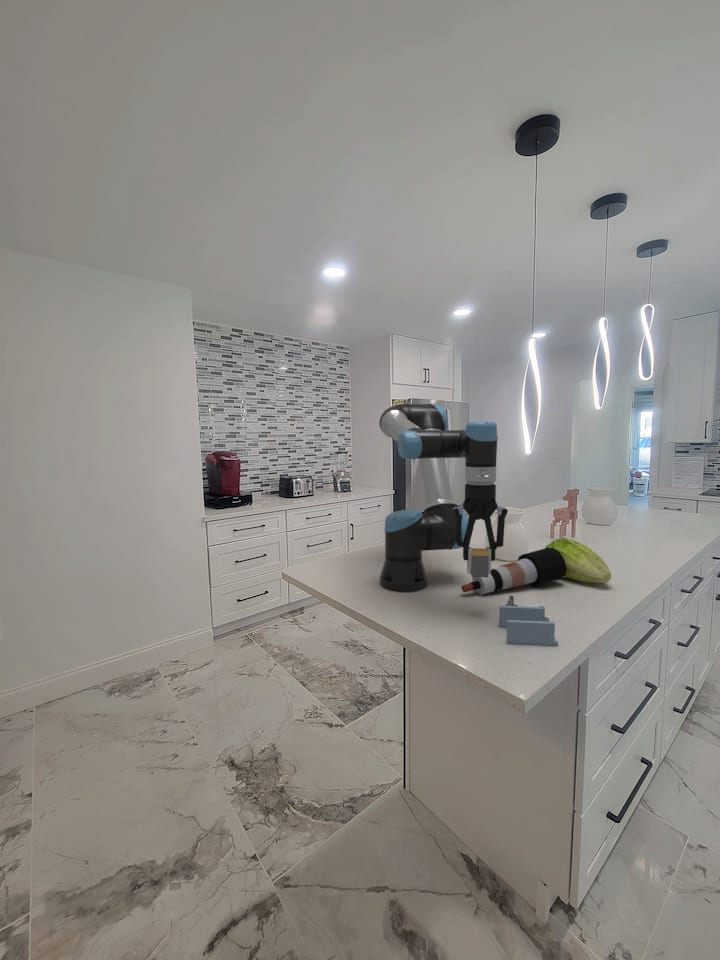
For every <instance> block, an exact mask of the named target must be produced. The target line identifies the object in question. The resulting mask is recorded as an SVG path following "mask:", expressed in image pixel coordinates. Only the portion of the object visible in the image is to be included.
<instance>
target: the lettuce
mask: <svg viewBox="0 0 720 960" xmlns="http://www.w3.org/2000/svg"><path fill="white" fill-rule="evenodd" d="M545 548H554V549H556V550H557V551H558V552H560V553H561V555H562V556H563V558H564V560H565V562H566V568H567V569H566V574H565V576H564V577H563V578H566V579H570V580H574V581H578V582H582V583H608V582H609V581H610V580H611V579H612V573H611V570H610V569H609V567H608V565H607V564H606V562H605V561H604V560H603V558H602V557H600V556H599V555H598V554H597V553H596V552H595V551H593V550H592V549H591V548H589V546H587V545H586V544H582V543H580V542H578V541H577V540H576V541H575V540H572V539H570V538H567V537H565V538H558V539H554V540H553V541H551V542H550V543H548V544H547V545H546V546H545ZM545 548H544V549H545Z"/></svg>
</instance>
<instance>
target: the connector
mask: <svg viewBox="0 0 720 960" xmlns="http://www.w3.org/2000/svg"><path fill="white" fill-rule="evenodd" d="M471 549H472V565H471V574H470V575H471V578H473V577H488V567H489V552H488V551H487V549H486V548H481V547H479V548H478V547H475V548H474V547H471Z"/></svg>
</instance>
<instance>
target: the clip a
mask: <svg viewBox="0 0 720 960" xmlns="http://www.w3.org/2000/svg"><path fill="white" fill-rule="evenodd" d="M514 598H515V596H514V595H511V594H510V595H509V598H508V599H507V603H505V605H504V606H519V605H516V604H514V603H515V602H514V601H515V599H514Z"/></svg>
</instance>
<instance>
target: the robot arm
mask: <svg viewBox="0 0 720 960" xmlns="http://www.w3.org/2000/svg"><path fill="white" fill-rule="evenodd" d="M448 419H449V418H448V415H447V412H446V410H445V408H444V407H443V406H442V405H441V404H436V403H434V404H433V403H432V402H431V403H429V402H428V403H401V404H400V403H399V404H395V405H392V406H390V407H388V408H386V409H385V410H384V411H383V412H382V413H381V415H380V417H379V420H378V421H379V423H378V424H379V428H380V430H381V432H382V433H383V434H384V435H385V436H386V437H388V438H390V439H394V440H395V442H396V443H397V451H398V456H399V457H400V458H402V459H405V460H406V459H409V460H410V459H411V460H419V465H420V472H421V477H422V482H423V489H424V495H425V502H426V507H425V508H424V509H423V513H422V510H420V509H415V508H413V509H409V508H408V509H402V510H397V511H392V512H391V513H389V514H387V516H386V517H385V520H384V521H385V522H384V528H383V529H384V548H385V549H384V555H385V556H384V559H385V560H384V562H383V566H382V569H381V572H380V574H379V584H380V585H381V587H383V588H385V589H387V590H390V591H395V592H414V591H415V592H416V591H420V590H422V589H425V588H426V587H427V586H428V574H427V571H426V568H425V567H424V563H423V555H422V554H423V551H424V552H425V551H442V550H446V551H447V550H448V551H449V550H450V551H451V550H455V549H462V559H463V560H464V561H466V572H467V574H468V575H471V565H472V549H471V548H472V547H471V546H470V543H471V540H472V535H473V531H474V526H475V523H476V521H477V520H478V521H479V520H482V521H484V527H485V530H486V535H487V540H488V546H486V549H487V551H488V552H489V567H488V574H490V575H491V569H492V562H495V561H496V550H497V548H502V547H503V546H504V540H505V539H504V538H505V522H506V517H507V514H508V513H509V512H508V511H509V510H508V509H507V508H506V507H503V506H499V505H498V503H497V501H496V500H497V499H496V497H497V495H496V493H497V492H496V491H497V485H496V484H495V482H496V481H497V457H498V456H497V455H498V452H497V451H498V439H499V438H498V437H499V436H498V433H497V432H498V425H497V423H496V422H494V421H469V422H467V423H466V425H465V429H455V430H454V429H452V430H448V428H449V427H448V426H449V425H448V422H449V420H448ZM459 458H461V459H463V458H464V459H465V462H464V463H465V464H464V465H465V466H464V467H465V469H464V480H465V482H466V483H465V485H464V500H463V502H462V505H459V504H458V503H456V502H454V501H453V494H452V490H451V486H450V479H449V474H448V471H447V465H446V460H445V459H459ZM464 510H465V512H464ZM494 512H496V514H497V523H496V525H497V526H496V529H497V530H496V541H495V536H494V531H493V526H492V519H491V517H492V515H493V514H494Z"/></svg>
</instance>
